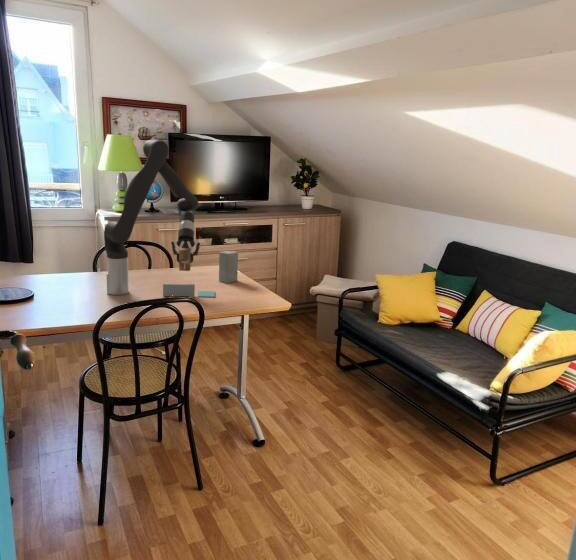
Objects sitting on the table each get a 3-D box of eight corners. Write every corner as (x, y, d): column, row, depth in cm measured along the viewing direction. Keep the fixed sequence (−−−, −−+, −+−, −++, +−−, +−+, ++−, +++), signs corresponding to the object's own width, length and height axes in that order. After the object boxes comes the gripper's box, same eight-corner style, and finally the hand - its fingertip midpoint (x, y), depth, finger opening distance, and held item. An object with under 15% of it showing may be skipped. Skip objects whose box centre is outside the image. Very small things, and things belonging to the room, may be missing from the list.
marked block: (179, 270, 245) (179, 249, 242) (179, 267, 250) (180, 247, 247) (190, 271, 246) (190, 250, 243) (190, 268, 251) (190, 247, 248)
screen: (163, 296, 244) (163, 284, 243) (163, 295, 245) (163, 283, 244) (194, 297, 246) (194, 285, 245) (194, 296, 248) (194, 284, 246)
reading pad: (197, 297, 247) (197, 295, 247) (198, 292, 254) (198, 290, 254) (214, 297, 248) (214, 296, 248) (214, 292, 256) (214, 291, 255)
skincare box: (227, 283, 271) (228, 254, 267) (217, 280, 275) (218, 251, 271) (238, 280, 278) (239, 251, 274) (228, 278, 282) (229, 249, 278)
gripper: (170, 226, 249) (168, 257, 241) (201, 227, 251) (200, 258, 243) (171, 235, 255) (169, 265, 247) (201, 236, 257) (200, 266, 249)
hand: (184, 261), depth 245 cm, fingers closed on marked block, 5 cm apart
